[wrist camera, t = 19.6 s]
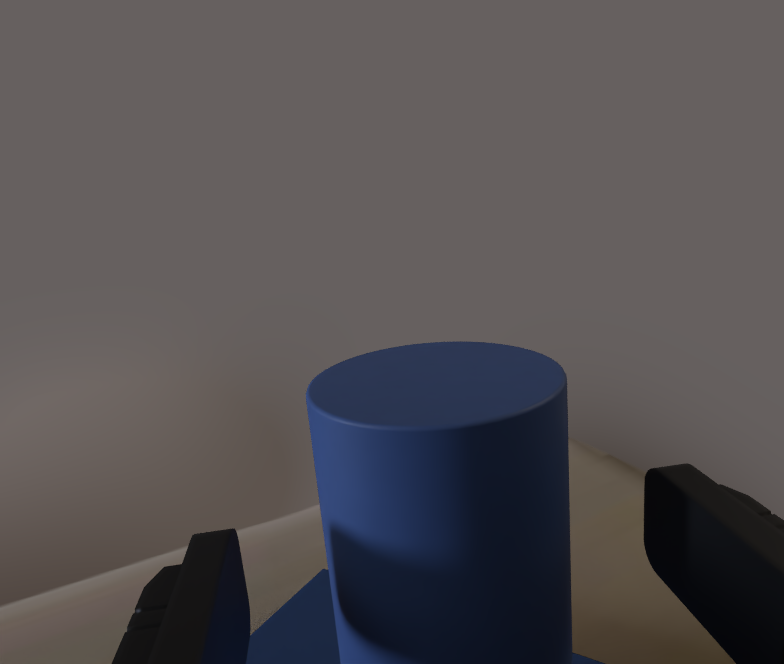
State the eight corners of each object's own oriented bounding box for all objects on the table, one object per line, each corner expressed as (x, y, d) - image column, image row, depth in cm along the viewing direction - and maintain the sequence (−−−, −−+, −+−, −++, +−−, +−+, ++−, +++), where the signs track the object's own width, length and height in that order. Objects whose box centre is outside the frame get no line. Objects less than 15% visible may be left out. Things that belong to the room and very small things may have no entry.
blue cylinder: (319, 856, 14) (248, 404, 11) (426, 695, 18) (393, 334, 15) (531, 998, 11) (505, 447, 8) (600, 770, 15) (597, 349, 12)
